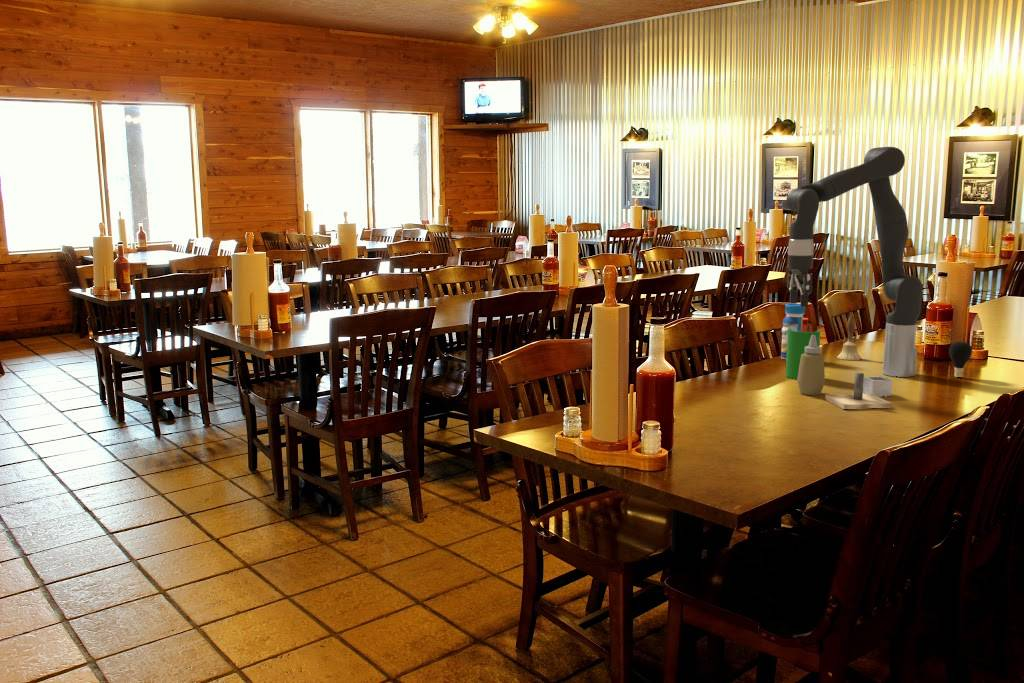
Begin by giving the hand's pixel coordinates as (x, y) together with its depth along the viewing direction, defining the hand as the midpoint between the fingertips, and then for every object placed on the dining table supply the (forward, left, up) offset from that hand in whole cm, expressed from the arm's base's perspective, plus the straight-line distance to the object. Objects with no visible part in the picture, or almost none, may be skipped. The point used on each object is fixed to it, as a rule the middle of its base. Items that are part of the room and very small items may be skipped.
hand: (798, 304), depth 281 cm
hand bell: (-35, -35, -25) cm, 56 cm away
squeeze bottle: (+2, +15, -25) cm, 30 cm away
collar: (-17, +19, -25) cm, 36 cm away
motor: (-5, -7, -25) cm, 27 cm away
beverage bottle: (-14, -36, -25) cm, 46 cm away
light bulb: (-55, 0, -25) cm, 61 cm away
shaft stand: (-6, +29, -25) cm, 39 cm away
